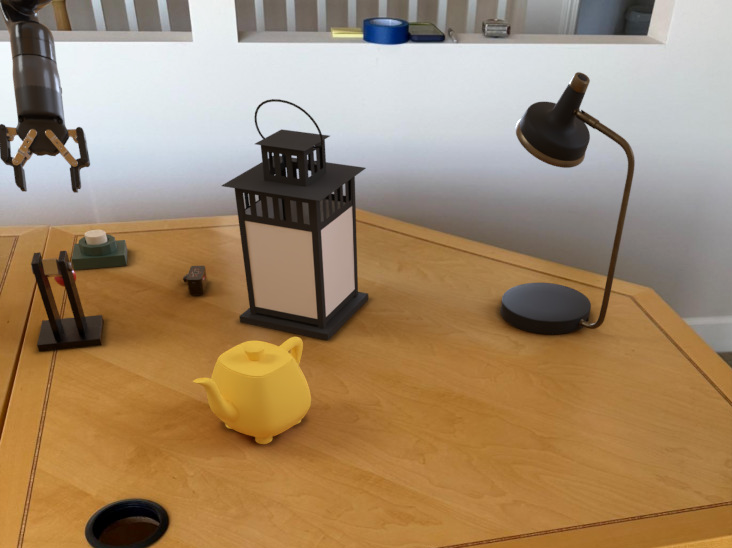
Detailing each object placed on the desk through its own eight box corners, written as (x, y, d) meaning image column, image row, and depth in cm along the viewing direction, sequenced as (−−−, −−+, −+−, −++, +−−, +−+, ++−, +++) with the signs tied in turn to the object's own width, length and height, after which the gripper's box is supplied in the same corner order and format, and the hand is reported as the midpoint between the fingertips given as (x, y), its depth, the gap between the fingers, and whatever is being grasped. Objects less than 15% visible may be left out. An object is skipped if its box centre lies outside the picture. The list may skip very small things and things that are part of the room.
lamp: (533, 284, 150) (564, 55, 124) (627, 324, 138) (683, 79, 112) (477, 309, 141) (497, 69, 116) (572, 353, 130) (618, 97, 104)
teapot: (176, 439, 110) (159, 362, 102) (274, 381, 122) (265, 308, 114) (243, 474, 104) (230, 395, 96) (338, 410, 116) (335, 335, 108)
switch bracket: (44, 326, 135) (19, 248, 126) (103, 321, 137) (83, 243, 127) (39, 351, 128) (12, 271, 119) (101, 345, 130) (79, 265, 121)
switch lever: (58, 289, 136) (54, 267, 135) (79, 287, 136) (75, 266, 136) (40, 279, 123) (35, 255, 122) (64, 277, 124) (59, 253, 123)
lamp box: (74, 270, 152) (68, 250, 150) (77, 254, 158) (71, 234, 155) (126, 265, 154) (122, 246, 151) (127, 250, 160) (123, 230, 157)
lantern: (368, 299, 144) (364, 87, 121) (328, 340, 132) (315, 114, 109) (286, 283, 149) (267, 77, 125) (240, 322, 137) (209, 101, 113)
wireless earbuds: (208, 280, 150) (206, 263, 147) (204, 296, 144) (201, 279, 142) (184, 280, 149) (181, 264, 147) (178, 296, 144) (175, 279, 142)
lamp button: (86, 246, 152) (83, 237, 151) (87, 239, 155) (84, 230, 154) (107, 245, 153) (105, 236, 151) (107, 237, 155) (105, 228, 154)
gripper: (-13, 81, 129) (0, 184, 131) (78, 85, 132) (89, 186, 135) (-1, 98, 136) (11, 195, 139) (85, 101, 139) (95, 197, 142)
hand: (49, 191), depth 137 cm, fingers open, 8 cm apart
